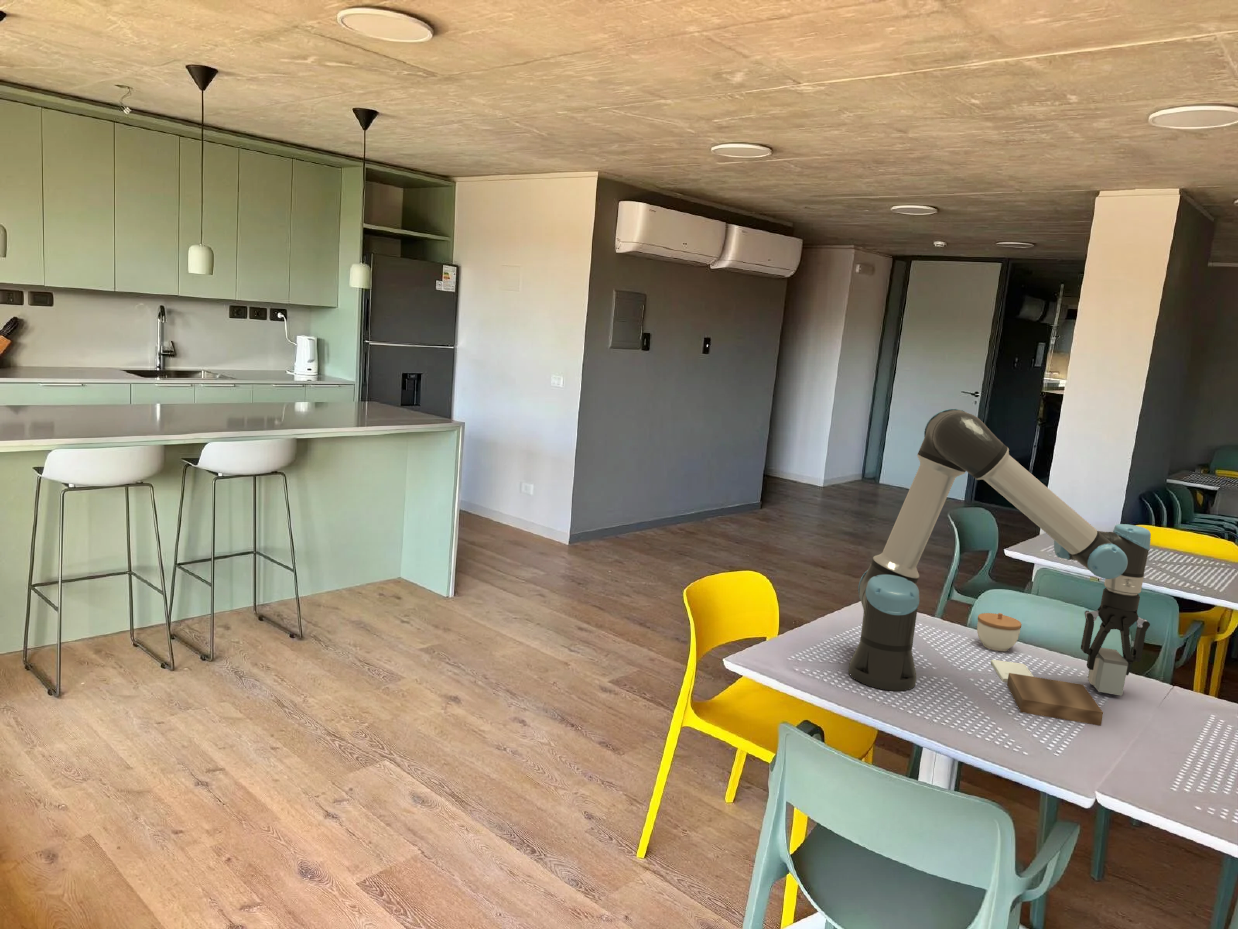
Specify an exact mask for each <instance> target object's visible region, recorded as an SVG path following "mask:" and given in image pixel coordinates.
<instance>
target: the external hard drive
mask: <svg viewBox="0 0 1238 929" xmlns="http://www.w3.org/2000/svg"><path fill="white" fill-rule="evenodd" d="M990 665H991V666H992V668H993V670H994V671H995V672H996V674H997V675H998V677H999V679H1000V680H1001V682H1002V683H1006V684H1007V682H1008V675H1009V673H1013V674H1019V675H1026V676H1032V677H1035V676H1034V675H1033V673H1032V672H1031V671H1030V669H1029V668H1028V666H1027V665H1026V664H1025V663H1019V662H1013V661H1004V660H998V659H991V660H990Z"/></svg>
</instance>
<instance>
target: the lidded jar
mask: <svg viewBox="0 0 1238 929" xmlns="http://www.w3.org/2000/svg"><path fill="white" fill-rule="evenodd" d="M1021 628H1022V622H1021V621H1020V620H1019V619H1017V618H1014V617H1012V616H1008V615H1005V614H1004V613H1002V612H998V613H991V612H984V613H983V612H982V613H980V614H978V615H977V626H976V630H977V637H978V638H979V641H980V642H981V643H982V644H983V647H985V648H986V649H989V650H992V651H996V652H1008V650H1009V649H1011V648H1013V647H1014V645H1016V643H1018V639H1019V637H1020V633H1021Z"/></svg>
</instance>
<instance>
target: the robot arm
mask: <svg viewBox="0 0 1238 929" xmlns="http://www.w3.org/2000/svg"><path fill="white" fill-rule="evenodd" d="M923 435H924V436H923V441H922V443H921V445H920V447H919V450H918V452H917V455H916V456H917V458H918V460H919V466H918V469H917V470H916V471H917V472H916V474H915V476H914V477H913V480H912V483H911V486H909V489H908V492H907V493H906V497H905V499H904V501H903V504H902V505H901V508H900V510H899V513H898V515H897V518H896V520H895V522H894V525H893V527H892V529H891V531H890V534H889V536H888V539H887V541H886V543H885V545H884V548H883V550H882V552H881V553H880V554H876V555H874V556H873V557H872V560H871V562H870V564H869V567H868V569H867V570H866V571H865V572H864V573H863V574H862V576H861V578H860V579H859V583H858V588H857V591H858V597H859V601H860V602H861V606H862V610H863V616H862V622H861V623H862V625H861V629H860V630H861V632H860V640H859V643H858V646H856V650H855V651H854V654H853V655H852V657H851V659H850V661H849V666H848V674H849V675H850V674H851V676H852V677H853V678H855V679H856V680H855V679H854V680H855V681H857V680H858V681H860V682H862V683H861V684H862V685H865V684H867V685H866V686H868V685H869V686H868V687H871V686H872V687H871V688H874V687H875V688H874V689H879V688H880V689H879V690H884V689H885V691H896V692H897V691H901V692H902V691H908V690H911V689H913V688H914V687H915V686H916V683H917V670H916V666H915V660H914V656H913V644H914V637H915V629H916V623H917V621H916V620H917V615H918V608H919V605H920V590H919V587H918V585H917V582H918V581H919V578H920V573H919V572H918V568H917V567H918V564H919V561H920V559H921V557H922V555H923V553H924V550H925V548H926V546H927V543H928V541H929V539H930V537H931V534H932V533H933V530H934V527H935V525H936V523H937V520H938V518H939V516H940V514H941V512H942V509H943V507H944V505H945V503H946V501H947V498H948V496H949V493H950V491H951V489H952V486H953V484H954V482H955V480H956V478H957V477H960V476H962V475H964V474H966V472H967V473H968V474H969V475H970V476H972V477H973V478H974V479H975V480H977V481H980V480H983V481H984V482H986V484H988V485H989V486H991V488H993V489H994V490H995V491H996V492H997V493H998V494H1000V495H1001V496H1003V498H1005V499H1006V500H1007V501H1008V502H1009V503H1010V504H1012V505H1013V506H1014V507H1015V508H1016V509H1017V510H1019V511H1020V513H1022V514H1024V516H1026V518H1028V519H1029V520H1030V521H1031V522H1032V523H1034V524H1035V525H1036V526H1038V528H1039V529H1041V530H1042V531H1043V532H1044V533H1046V534H1047V535H1048V536H1049V537H1050V538H1052V539H1053V551H1054V553H1055V555H1056V557H1057V558H1059V559H1064V560H1065V559H1066V560H1067V561H1077V562H1078V563H1079V564H1080V565H1082V566H1083V567H1085V568H1086V569H1087V570H1088V571H1090V572H1091V573H1092V574H1093V575H1094V576H1096V577H1099V578H1101V579H1104V587H1105V588H1103V589H1102V594H1101V601H1100V605H1099V607H1098V608H1097V610H1094V611H1089V610H1085V611H1084V617H1085V623H1084V628H1083V634H1082V639H1081V644H1080V651H1081V652H1083V654H1086V655H1087V661H1086V668H1087V669H1088V670H1089V669H1090V674H1089V679H1088V682H1089V684H1090V685H1091V686H1092V685H1093V686H1094V685H1095V681H1096V676H1097V670H1098V665H1099V660H1100V659H1099V658H1098V657H1097V654H1098V652H1099V650H1100V648H1102V646H1103V644H1104V643H1105V640H1106V638H1107V636H1108V634H1109V633H1110V632H1111V630H1118V631H1119V632H1120V641H1121V642H1120V643H1121V651H1122V657H1123V658H1124V659H1125V660H1126V661H1127V662H1128V667H1127V672H1126V677H1127V676H1129V674H1130V669H1131V665H1133V663H1135V662H1137V663H1140V662H1142V657H1143V650H1144V645H1145V644H1144V643H1145V638H1146V633H1147V631H1148V630H1149V627H1150V626H1151V623H1150V622H1149V621H1148V620H1147V619H1145V618H1141V617H1139V614H1138V610H1139V605H1140V598H1141V596H1140V595H1139V594H1140V593H1142V587H1143V582H1144V578H1145V570H1146V566H1147V561H1148V557H1149V552H1150V549H1151V540H1152V539H1151V531H1150V530H1149V529H1148V528H1145V527H1143V526H1138V525H1134V524H1128V523H1127V524H1126V523H1125V524H1123V523H1117V524H1116V525H1115V526H1114V529H1113V530H1112V531H1103V530H1097V529H1096V528H1095V527H1094V526H1093V525H1092V524H1090V523H1089V522H1088V521H1087V520H1086V519H1085V518H1083V517H1082V516H1081V515H1080V514H1079V513H1078V512H1077V511H1076V510H1074V509H1073V508H1072V507H1071V506H1069V505H1068V504H1067V503H1066V502H1065V501H1064V500H1063V499H1062V498H1060V497H1059V496H1057V494H1056V493H1054V492H1053V491H1052V490H1051V489H1050V488H1048V487H1047V486H1046V484H1044V483H1042V482H1041V481H1040V480H1039V479H1038V478H1036V476H1034V475H1033V474H1032V473H1031V472H1030V471H1029V470H1027V469H1026V468H1025V467H1024V466H1022V465H1021V464H1020V463H1019V461H1017V460H1016V459H1015V458H1014V457H1012V456H1011V455H1010V452H1009V451H1010V449H1009V447H1008V446H1007V445H1006V444H1004V443H1003V441H1001V439H999V438H998V437H997V436H996V435H995V434H994V433H993V432H992V431H991V429H990V428H988V426H987V425H986V423H984V422H983V421H982V420H981V419H980V418H979V417H977V415H974V414H972V413H969V412H967V411H965V410H963V409H957V408H948V409H944V410H941V411H938V412H937V413H936V414H933V415H932V416H931V417H930V418H929V420H928V421H927V423H926V425H925V427H924V433H923ZM1098 617H1099V619H1100V620H1101V624H1100V625H1099V629H1098V631H1097V633H1096V635H1095V637H1094V639H1093V641H1092V638H1093V633H1094V628H1095V621H1097V618H1098ZM1135 623H1136V624H1135ZM1134 624H1135V626H1136V629H1135V636H1134V642H1133V649H1131V648H1132V646H1131V639H1130V638H1131V637H1130V635H1131V634H1130V633H1131V632H1130V627H1131V626H1132V625H1134ZM851 676H850V677H851ZM852 677H851V678H852ZM853 678H852V679H853ZM858 681H857V682H858ZM860 682H859V683H860Z"/></svg>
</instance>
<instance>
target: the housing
mask: <svg viewBox="0 0 1238 929" xmlns="http://www.w3.org/2000/svg"><path fill="white" fill-rule="evenodd" d="M1097 657H1098V658H1099V659H1100V660H1099V665H1098V670H1097V676H1096V681H1095V685H1093V687H1094V688H1095V689H1096V690H1097V691H1098V693H1104V694H1111V695H1116V696H1117V695H1118V696H1123V692H1124V689H1125V688H1124V686H1125V681H1126V677H1127V675H1126V672H1127V667H1128V662H1127V661H1126V660H1125V659H1124V658H1123V655H1121V653H1120V652H1119V651H1118V650H1117V649H1112V648H1107V647H1101V648H1100V650H1099V652H1098V654H1097ZM1089 674H1090V669H1088V675H1087V678H1088V679H1089Z"/></svg>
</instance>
